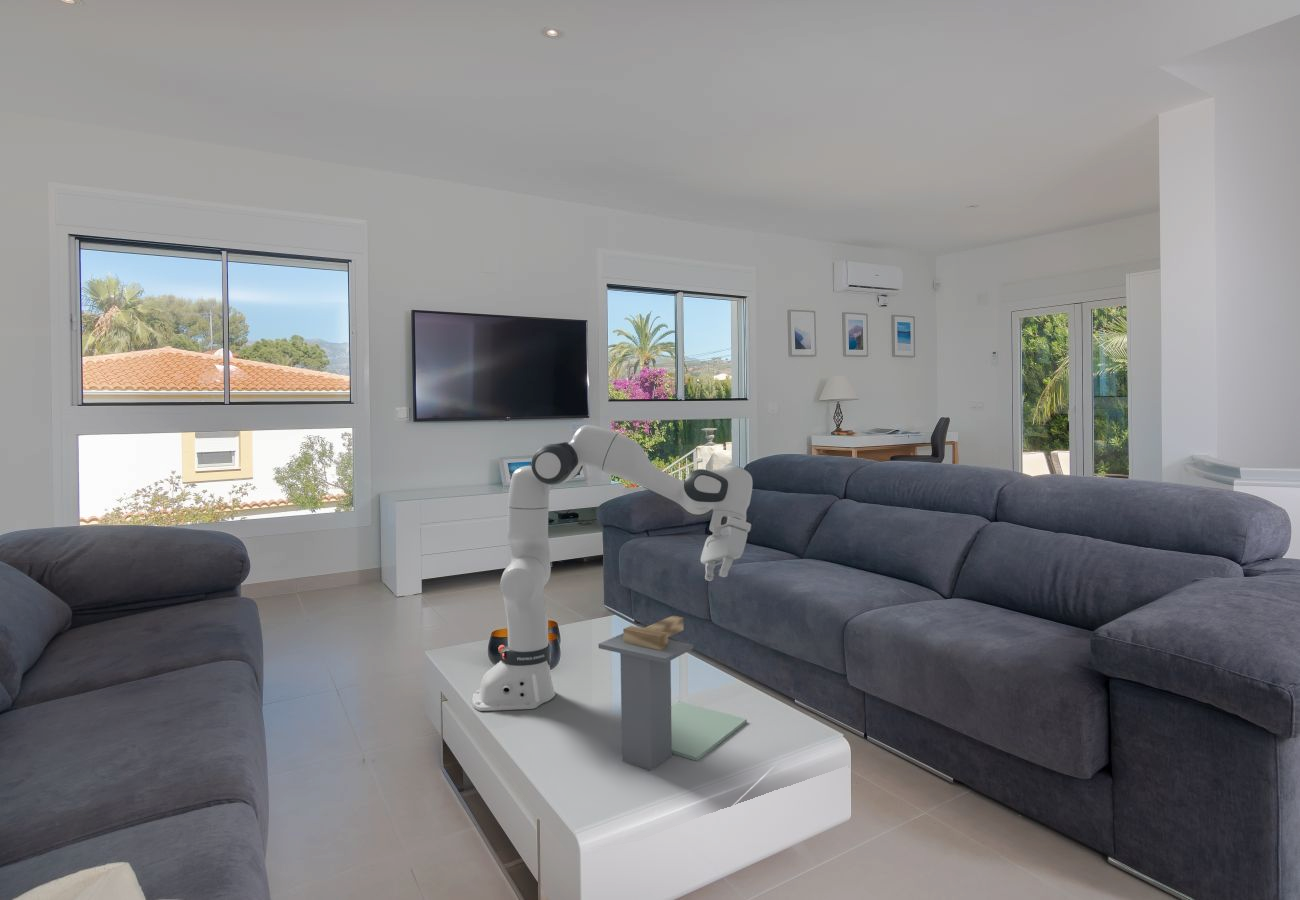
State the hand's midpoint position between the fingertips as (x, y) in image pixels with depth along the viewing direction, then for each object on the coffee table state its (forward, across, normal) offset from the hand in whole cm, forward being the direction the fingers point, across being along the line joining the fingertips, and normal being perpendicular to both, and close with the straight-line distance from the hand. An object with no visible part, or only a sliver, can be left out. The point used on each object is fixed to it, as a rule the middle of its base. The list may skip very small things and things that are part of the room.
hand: (715, 578), depth 178 cm
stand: (+44, +3, -8) cm, 45 cm away
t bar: (+19, +8, -13) cm, 24 cm away
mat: (+36, -7, +4) cm, 37 cm away
